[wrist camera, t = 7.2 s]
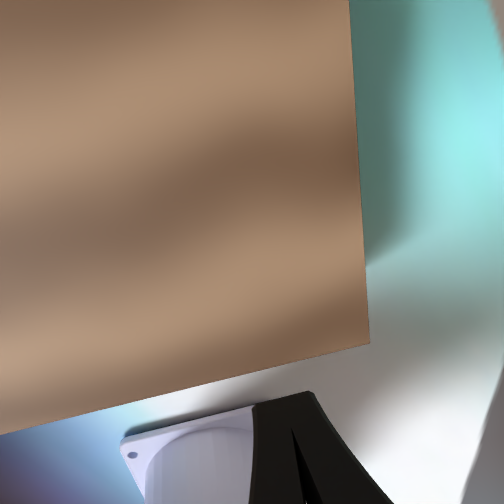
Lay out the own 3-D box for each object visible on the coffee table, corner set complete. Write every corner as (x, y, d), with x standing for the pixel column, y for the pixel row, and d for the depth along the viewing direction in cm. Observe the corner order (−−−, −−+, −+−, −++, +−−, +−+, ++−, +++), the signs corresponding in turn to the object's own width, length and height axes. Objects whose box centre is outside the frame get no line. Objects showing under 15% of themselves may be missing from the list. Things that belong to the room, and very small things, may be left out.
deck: (337, 284, 22) (369, 343, 18) (-17, 370, 21) (-52, 447, 17) (299, -91, 14) (341, -110, 11) (-246, 20, 14) (-384, 36, 10)
